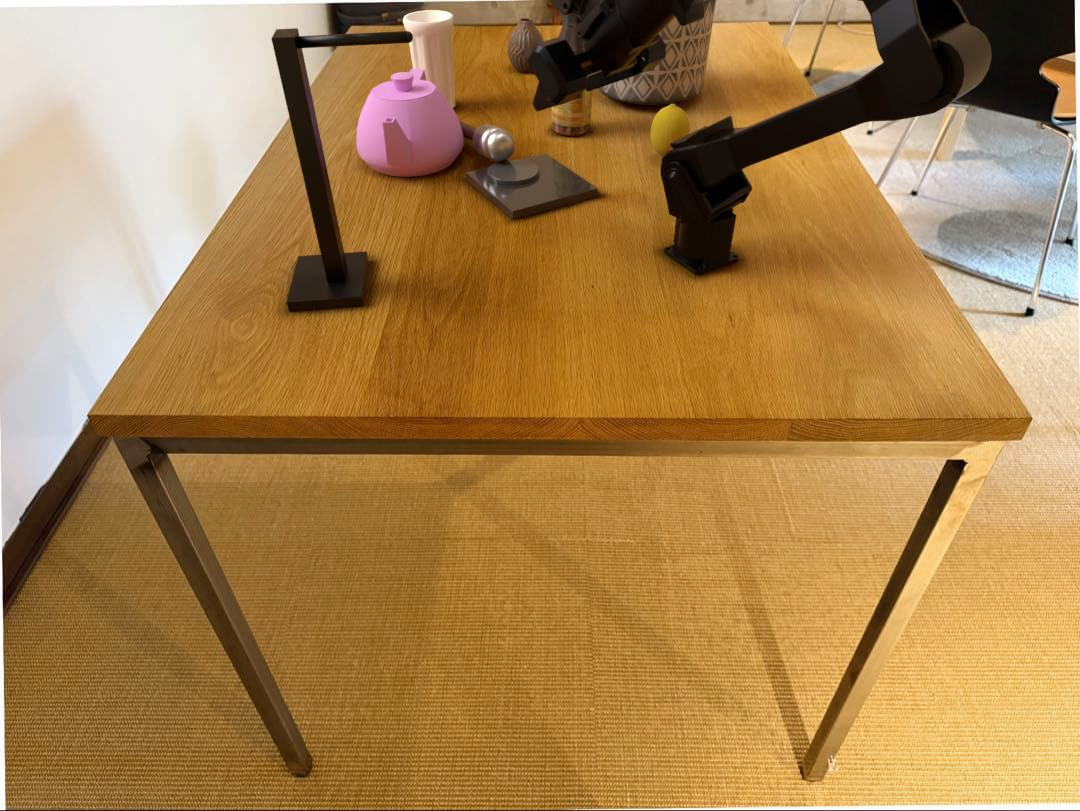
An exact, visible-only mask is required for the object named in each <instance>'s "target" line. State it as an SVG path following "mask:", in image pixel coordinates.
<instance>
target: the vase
mask: <svg viewBox="0 0 1080 811" xmlns="http://www.w3.org/2000/svg"><path fill="white" fill-rule="evenodd" d="M544 41H545V40H544V38H543V35H542V33H541V32H540V31H539V29H538V27H537V26H536V25H535V23H534V21H533V19H532V18H531V17H521V18H519V19H518V22H517V24H516V26H515V28H514V29H513V30H512V31H511V34H510V36H509V39H508V43H507V54H508V60H509V62H510V64H511V66H512V68H513V69H514V70H516V71H517V72H519V73H526V74H528V73H534V72H533V70H532V69H531V67H530V65H529V64H528V62H527V55H528V53H529V52H530V51H531V50H532V48H533V47H534V46H535V45H536V44H538V43H541V42H544Z"/></svg>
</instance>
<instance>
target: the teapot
mask: <svg viewBox="0 0 1080 811" xmlns="http://www.w3.org/2000/svg"><path fill="white" fill-rule="evenodd" d="M459 121H460V120H459V117H458V115H457V112H456V111H455V109H454V108H452V106H451V105H450V103H449V102H448V100H447V99H446V98H445V96H444V95H443V94H442V92H441V91H440V90H439V89H438V88H437V86H436V85H434V84H433V83H431V82H429V81H427V80H426V75H425V70H424V69H413V68H410V69H409V71H408V72H407V71H400V72H396V73H393V74H391V76H390V80H388V81H384V82H382V83H379V84H377V85H376V86H374V87H373V88H372V89H371V90H370V92H369V94H368V96H367V98H366V100H365V102H364V104H363V106H362V109H361V112H360V115H359V119H358V121H357V122H358V123H357V127H356V138H355V140H356V150H357V154H358V155H359V157H360V159H361V160H363V161H364V162H365V163H366V165H368V166H369V167H370V168H371V169H373V170H374V171H376V172H378V173H380V174H382V175H387V176H391V177H403V178H405V177H421V176H426V175H431V174H435V173H438V172H440V171H443V170H445V169H447V168H449V167H450V166H451V165H453V163H454V162H455V160H456V159H457V158H458V157H459V155H460V154H461V153H462V151H463V148H464V144H465V138H464V137H463V132H462V128H461V125H460V122H459Z"/></svg>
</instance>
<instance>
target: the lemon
mask: <svg viewBox="0 0 1080 811" xmlns="http://www.w3.org/2000/svg"><path fill="white" fill-rule="evenodd" d="M689 134H691V126H690V120H689V116H688V114H687V113H686V112H685V110H684V109H683V108H682V107H679V106H677V105H676V104H675V103H669V104H668V105H667V106H664V107H663V108H661V109H660V110H658V112H657V113H656V114H655V115H654V117H653V119H652V123H651V127H650V143H651V146H652V148H653V150H654V151H655V152H656V153H657V154H658V155H660V156H662V157H663V156H664V155H665V154H666V153H667V152H669V151H671V150H673V148H672V147H671V146H670V144H671V143H672V142H674V141H676V140H678V139H680V138H682V137H684V136H687V135H689Z"/></svg>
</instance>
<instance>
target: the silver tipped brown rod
mask: <svg viewBox="0 0 1080 811" xmlns="http://www.w3.org/2000/svg"><path fill="white" fill-rule="evenodd" d="M459 122H460V125H461V128H462V132H463V138H464V139H465V140H468V141H471V142H472V145H473V147H474V150H475V151H476V152H477V153H478V154H479V155H481V156H483V157H485V158H487V159H490V160H491V161H494V162H496V163H497V162H502V161H506V160H510V159H511V157H512V156H513V155H514V153H515V150H516V140H515V138H514V135H513V134H512V133H511V132H510V131H508V130H506V129H505V128H503V127H500V126H497V125H494V124H491V123H484V124H481V125H480V126H478V127H476V126H473V125H470V124H468V123H466V122H463V121H461V120H459Z"/></svg>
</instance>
